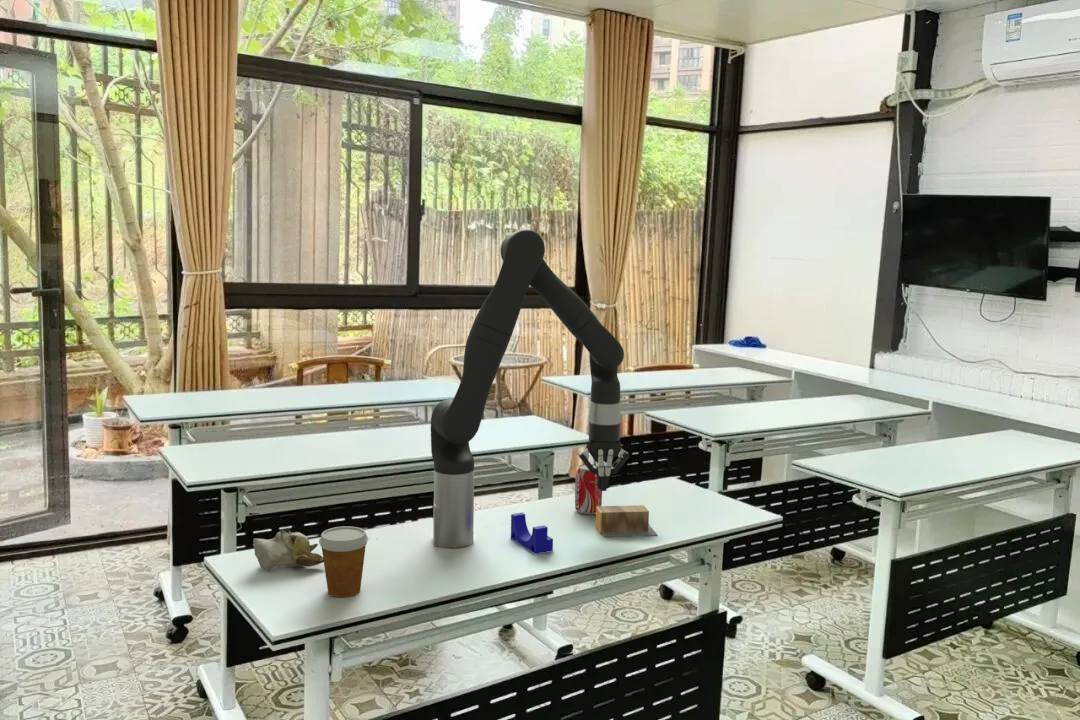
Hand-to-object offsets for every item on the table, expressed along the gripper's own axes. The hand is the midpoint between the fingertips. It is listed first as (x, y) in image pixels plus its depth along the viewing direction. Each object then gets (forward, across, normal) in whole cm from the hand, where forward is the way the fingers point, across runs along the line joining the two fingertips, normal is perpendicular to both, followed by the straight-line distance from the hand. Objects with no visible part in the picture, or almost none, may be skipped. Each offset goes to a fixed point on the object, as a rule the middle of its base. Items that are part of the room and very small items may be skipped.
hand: (602, 490), depth 214 cm
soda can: (+10, 0, +15) cm, 18 cm away
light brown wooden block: (+7, -1, 0) cm, 7 cm away
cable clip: (+10, -18, -8) cm, 23 cm away
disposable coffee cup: (+10, -59, -32) cm, 68 cm away
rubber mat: (+10, +6, 0) cm, 12 cm away
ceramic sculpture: (+10, -72, -17) cm, 75 cm away
